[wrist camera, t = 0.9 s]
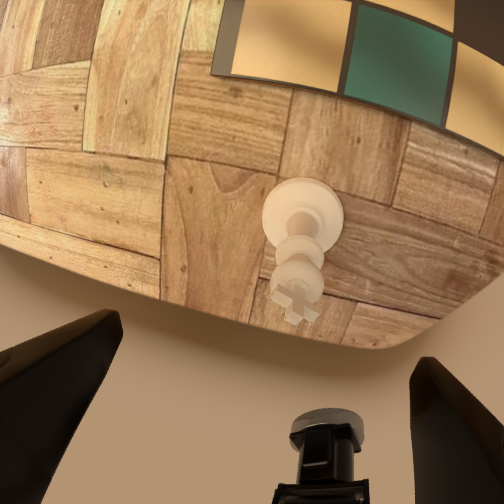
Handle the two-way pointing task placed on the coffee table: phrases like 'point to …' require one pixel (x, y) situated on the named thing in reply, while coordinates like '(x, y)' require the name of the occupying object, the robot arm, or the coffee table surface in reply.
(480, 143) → the game board
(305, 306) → the chess piece
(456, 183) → the coffee table surface
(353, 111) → the coffee table surface
